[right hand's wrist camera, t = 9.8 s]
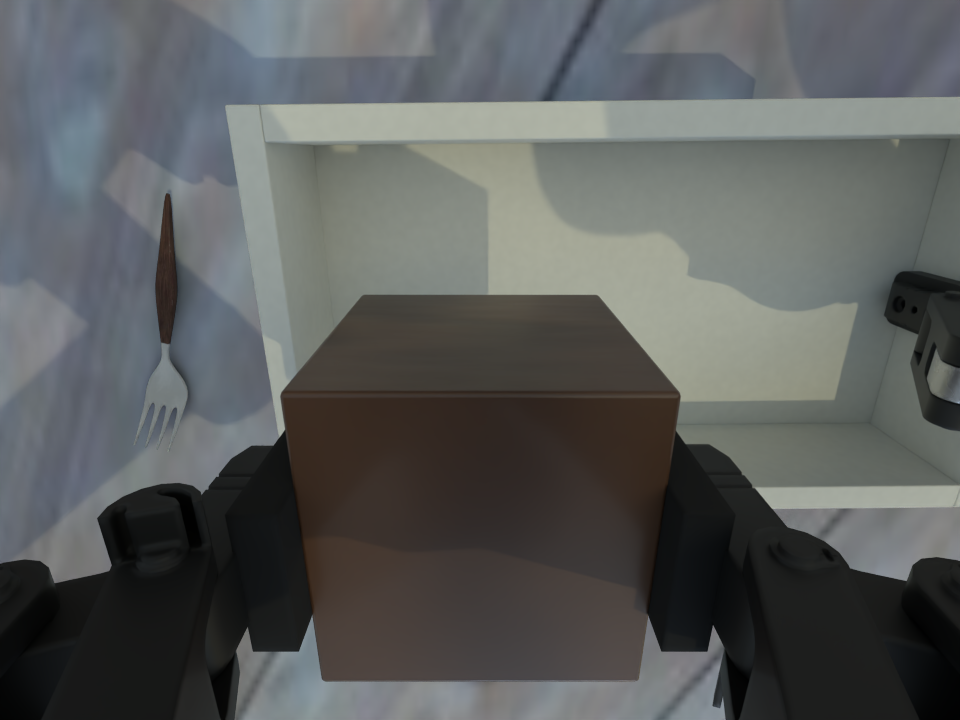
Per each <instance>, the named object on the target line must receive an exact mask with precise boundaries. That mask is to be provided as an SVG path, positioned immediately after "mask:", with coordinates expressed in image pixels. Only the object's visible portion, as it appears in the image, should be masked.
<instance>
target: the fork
mask: <svg viewBox="0 0 960 720" xmlns="http://www.w3.org/2000/svg"><path fill="white" fill-rule="evenodd" d="M176 302H177V275H176V264H175V254H174V240H173V222H172V208H171V199H170V194H167V193H166V196H165V201H164V209H163V218H162V228H161V238H160V248H159V256H158V264H157V273H156V304H157V313H158V322H159V330H160V338H161V348H162V357H161V361H160V363H159V365H158V366H157V368H156V369H155V371H154V372H153V373H152V375H151V377H150V379H149V381H148V384H147V389H146V395H145V402H144V407H143V411H142V415H141V419H140V423H139V427H138V431H137V434H136V438H135V441H134V444H133V445H136V442H137V440H138V437H139V435H140V432H141V430H142V427H143V424H144V422H145V419H146V416H147V413H148V411H149V408H150V406H151V404H152V403H154V405H155V409H154V414H153V418H152V422H151V426H150V430H149V434H148V438H147V441H146V445H145V448H146V447H147V445H148V443H149V440H150V438H151V435H152V432H153V430H154V427H155V424H156V422H157V419H158V416H159V413H160V410H161V408H162V407H163V406H164V405H165V406H166V412H165V417H164V421H163V425H162V429H161V433H160V437H159V441H158V444H157V448H156V449H158V448H159V445H160V443H161V440H162V438H163V435H164V432H165V430H166V427H167V424H168V421H169V418H170V416H171V413H172V411H173V409H174V408H177V415H176V419H175V424H174V428H173V432H172V436H171V440H170V444H169V447H168V450H167V451H168V452H169V451H170V448H171V446H172V443H173V440H174V438H175V435H176V432H177V429H178V427H179V424H180V421H181V418H182V415H183V412H184V409H185V406H186V402H187V398H188V390H187V386H186V384H185V382H184V380H183V378H182V377H181V375H180V374H179V373H178V371H177V370H176V369H175V367H174V366H173V364H172V362H171V360H170V357H169V350H170V342H171V336H172V329H173V323H174V317H175V310H176Z"/></svg>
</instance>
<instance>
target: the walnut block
mask: <svg viewBox="0 0 960 720" xmlns="http://www.w3.org/2000/svg"><path fill="white" fill-rule="evenodd" d="M280 399H281V406H282V412H283V419H284V426H285V433H286V439H287V446H288V453H289V460H290V466H291V473H292V480H293V487H294V493H295V500H296V507H297V514H298V520H299V527H300V534H301V541H302V547H303V554H304V561H305V568H306V574H307V581H308V588H309V595H310V601H311V608H312V615H313V622H314V628H315V635H316V642H317V649H318V655H319V662H320V669H321V676H322V680H323V681H490V682H635V681H637V680H638V679H639V673H640V666H641V660H642V653H643V646H644V640H645V633H646V626H647V620H648V611H649V604H650V598H651V591H652V584H653V578H654V571H655V564H656V557H657V551H658V544H659V537H660V531H661V524H662V517H663V511H664V504H665V497H666V490H667V485H668V479H669V473H670V466H671V459H672V453H673V446H674V439H675V432H676V426H677V419H678V412H679V406H680V399H681V395H680V392H679V391H678V390H677V388H676V387H675V386H674V385H673V384H672V383H671V381H670V380H669V379H668V378H667V377H666V375H665V374H664V373H663V372H662V371H661V369H660V368H659V367H658V366H657V365H656V363H655V362H654V361H653V360H652V359H651V357H650V356H649V355H648V354H647V353H646V352H645V350H644V349H643V348H642V347H641V346H640V344H639V343H638V342H637V341H636V340H635V338H634V337H633V336H632V335H631V334H630V332H629V331H628V330H627V329H626V328H625V326H624V325H623V324H622V323H621V322H620V321H619V319H618V318H617V317H616V316H615V315H614V313H613V312H612V311H611V310H610V309H609V307H608V306H607V305H606V304H605V303H604V301H603V300H602V299H601V298H600V297H599V296H598V295H362V296H361V297H360V299H359V300H358V301H357V302H356V303H355V305H354V306H353V307H352V308H351V309H350V311H349V312H348V313H347V314H346V315H345V317H344V318H343V319H342V320H341V321H340V323H339V324H338V325H337V326H336V327H335V328H334V330H333V331H332V332H331V333H330V334H329V336H328V337H327V338H326V339H325V340H324V342H323V343H322V344H321V345H320V346H319V348H318V349H317V350H316V351H315V352H314V354H313V355H312V356H311V357H310V358H309V360H308V361H307V362H306V363H305V364H304V366H303V367H302V368H301V369H300V370H299V372H298V373H297V374H296V375H295V376H294V378H293V379H292V380H291V381H290V382H289V384H288V385H287V386H286V387H285V388H284V390H283V391H282V392H281V395H280Z"/></svg>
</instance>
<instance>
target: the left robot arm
mask: <svg viewBox="0 0 960 720" xmlns="http://www.w3.org/2000/svg"><path fill="white" fill-rule="evenodd" d="M884 316H885V317H886V318H887V320H888V322H889V323H891V324H893V325H895V326H898V327H900V328H903V329H905V330H908V331H910V332H913V333H915V334H918V338H917V341H916V344H915V348H914V351H913V355H912V358H911V361H910V365H911V369H912V373H913V378H914V382H915V386H916V391H917V395H918V399H919V403H920V408H921V412H922V416H923V418H924V419H925V420H927V421H928V422H930V423H932V424H934V425H937V426H939V427H942V428H944V429H947V430H952V431H960V281H958V280H954V279H950V278H946V277H942V276H938V275H934V274H930V273H926V272H923V271H902V272H900V273H898V274H897V275H896V277H895V279H894V282H893V283H892V287H891V291H890V294H889V298H888V302H887V305H886V309H885V313H884Z"/></svg>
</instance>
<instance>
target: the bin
mask: <svg viewBox="0 0 960 720" xmlns="http://www.w3.org/2000/svg"><path fill="white" fill-rule="evenodd" d="M225 110H226V116H227V122H228V128H229V134H230V140H231V146H232V153H233V159H234V165H235V171H236V177H237V183H238V189H239V195H240V202H241V208H242V214H243V220H244V226H245V232H246V238H247V244H248V251H249V257H250V263H251V269H252V275H253V281H254V287H255V293H256V300H257V306H258V312H259V318H260V324H261V330H262V336H263V342H264V349H265V355H266V361H267V367H268V373H269V379H270V385H271V391H272V398H273V404H274V410H275V416H276V422H277V428H278V434H279V437H280V436H281V435H282V433H283V432H284V430H285V426H284V419H283V412H282V406H281V399H280V395H281V392H282V391H283V390H284V388H285V387H286V386H287V385H288V384H289V382H290V381H291V380H292V379H293V378H294V376H295V375H296V374H297V373H298V372H299V370H300V369H301V368H302V367H303V366H304V364H305V363H306V362H307V361H308V360H309V358H310V357H311V356H312V355H313V354H314V352H315V351H316V350H317V349H318V348H319V346H320V345H321V344H322V343H323V342H324V340H325V339H326V338H327V337H328V336H329V334H330V333H331V332H332V331H333V330H334V328H335V327H336V326H337V325H338V324H339V323H340V321H341V320H342V319H343V318H344V317H345V315H346V314H347V313H348V312H349V311H350V309H351V308H352V307H353V306H354V305H355V303H356V302H357V301H358V300H359V299H360V297H361V296H362V295H598V296H599V297H600V298H601V299H602V300H603V301H604V303H605V304H606V305H607V306H608V307H609V309H610V310H611V311H612V312H613V313H614V315H615V316H616V317H617V318H618V319H619V321H620V322H621V323H622V324H623V325H624V326H625V328H626V329H627V330H628V331H629V332H630V334H631V335H632V336H633V337H634V338H635V340H636V341H637V342H638V343H639V344H640V346H641V347H642V348H643V349H644V350H645V352H646V353H647V354H648V355H649V356H650V357H651V359H652V360H653V361H654V362H655V363H656V365H657V366H658V367H659V368H660V369H661V371H662V372H663V373H664V374H665V375H666V377H667V378H668V379H669V380H670V381H671V383H672V384H673V385H674V386H675V387H676V388H677V390H678V391H679V392H680V395H681V399H680V406H679V412H678V419H677V426H676V431H677V433H678V434H679V435H680V437H681V438H682V440H683V441H684V443H685V444H710V445H711V446H713V447H714V448H716V449H718V450H719V451H721V452H722V453H724V454H725V455H727V456H729V457H730V458H731V460H732V461H733V462H734V463H735V464H736V466H737V467H738V468H739V469H740V470H741V472H742V475H745V477H746V478H747V479H748V480H749V481H750V483H751V484H752V488H755V489H756V490H757V491H758V492H759V494H760V495H761V496H762V497H763V498H764V500H765V501H766V502H767V503H768V504H769V506H770V507H771V508H772V509H807V508H919V507H953V506H954V507H960V431H952V430H947V429H944V428H942V427H939V426H937V425H934V424H932V423H930V422H928V421H927V420H925V419H924V418H923V416H922V412H921V408H920V403H919V399H918V395H917V391H916V386H915V382H914V378H913V373H912V369H911V365H910V361H911V358H912V355H913V351H914V348H915V344H916V341H917V338H918V334H915V333H913V332H910V331H908V330H905V329H903V328H900V327H898V326H895V325H893V324H891V323H889V322H888V320H887V318H886V317H885V316H884V313H885V309H886V305H887V302H888V298H889V294H890V291H891V287H892V283H893V282H894V279H895V277H896V275H897V274H898V273H900V272H902V271H923V272H926V273H930V274H934V275H938V276H942V277H946V278H950V279H954V280H958V281H960V97H902V98H809V99H717V100H624V101H532V102H440V103H347V104H261V105H258V104H257V105H226V106H225Z"/></svg>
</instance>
